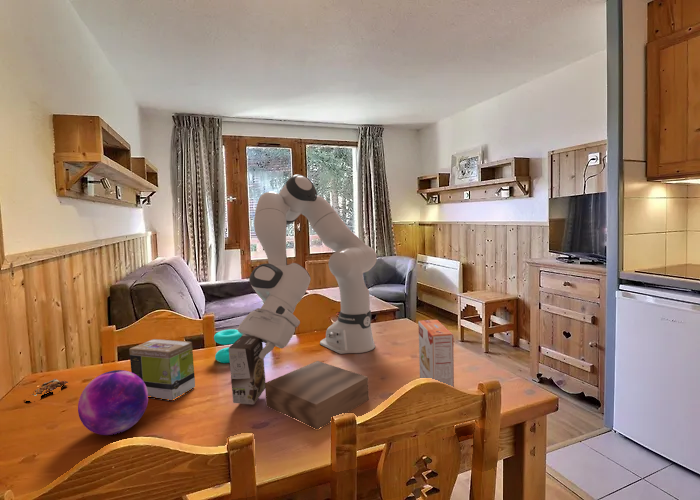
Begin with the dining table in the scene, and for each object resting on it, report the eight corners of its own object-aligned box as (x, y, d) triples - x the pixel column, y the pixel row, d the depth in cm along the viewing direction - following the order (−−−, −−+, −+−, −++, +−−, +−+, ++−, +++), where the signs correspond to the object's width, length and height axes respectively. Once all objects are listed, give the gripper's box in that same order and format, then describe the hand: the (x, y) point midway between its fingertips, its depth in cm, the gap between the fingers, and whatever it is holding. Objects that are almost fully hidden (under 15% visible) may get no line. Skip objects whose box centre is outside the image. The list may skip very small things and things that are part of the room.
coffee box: (254, 405, 109) (250, 348, 106) (232, 403, 110) (227, 347, 107) (266, 387, 118) (262, 335, 115) (246, 386, 119) (241, 334, 116)
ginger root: (18, 404, 118) (17, 392, 117) (51, 386, 130) (50, 375, 129) (40, 404, 117) (39, 392, 117) (72, 386, 129) (71, 375, 129)
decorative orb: (135, 445, 94) (129, 383, 92) (67, 450, 93) (60, 388, 91) (159, 413, 109) (155, 359, 107) (101, 417, 108) (96, 363, 106)
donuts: (239, 326, 153) (245, 333, 144) (240, 352, 154) (246, 360, 146) (211, 331, 149) (216, 338, 140) (213, 357, 150) (218, 366, 141)
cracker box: (418, 389, 118) (417, 319, 116) (438, 388, 119) (438, 318, 116) (432, 413, 104) (431, 334, 102) (455, 411, 105) (454, 333, 103)
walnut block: (266, 407, 111) (265, 382, 110) (318, 382, 126) (317, 360, 125) (317, 432, 98) (316, 404, 97) (368, 401, 113) (367, 376, 112)
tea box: (196, 387, 124) (193, 340, 123) (172, 402, 115) (168, 352, 113) (158, 382, 129) (154, 337, 128) (131, 396, 120) (127, 347, 118)
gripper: (249, 302, 125) (222, 341, 119) (291, 311, 111) (263, 356, 105) (262, 313, 128) (237, 351, 122) (304, 323, 114) (278, 367, 108)
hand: (249, 353), depth 113 cm, fingers closed on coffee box, 8 cm apart
